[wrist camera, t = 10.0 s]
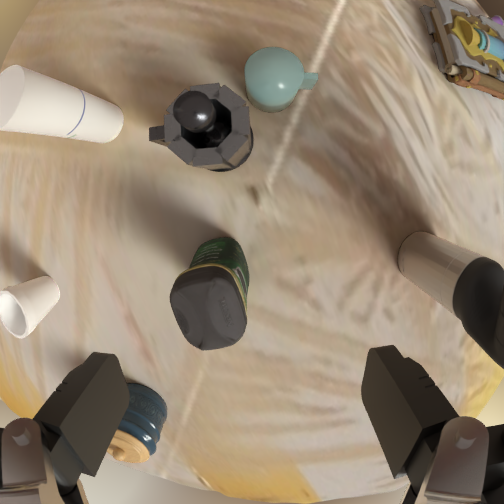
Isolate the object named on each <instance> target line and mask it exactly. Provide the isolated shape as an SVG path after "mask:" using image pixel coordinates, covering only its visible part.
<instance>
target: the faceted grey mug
mask: <svg viewBox="0 0 504 504" xmlns="http://www.w3.org/2000/svg"><path fill="white" fill-rule="evenodd" d="M190 91H200V92H202V93H204V94H205V95H207V96H208V98H209V99H210V101H211V103H212V104H213V106H214V108H215V110H216V120H215V122H221V123H224V124H226V125H227V126H228V127H229V128H230V130H231V133H230V134H229V135H228V136H227V137H226V138H225V140H224V141H223V142H222V143H221V144H220V145H219V146H218V147H214V148H208V147H207V146H206V145H205V143H204V141H203V132H200V133H195V132H192V131H189V130H188V129H187V128H185V127H184V126H182V125H181V124H179V123H178V122H177V121H176V119H175V118H174V115H173V106H174V103H175V101H176V100H177V99H178V97H179V96H181V95H182V94H184V93H186V92H188V90H186V89H185V90H184V91H183V92H182V93H181V94H180V95H179V96H178V97H177V98H176V99H175V101H174V102H173V103H172V104H171V105H170V106H169V107H168V108H167V110H166V111H168V112H169V113H170V114H167V115H164V125H163V126H157V127H151V128H149V141H151V142H155V143H158V144H161V145H164V146H167V147H168V148H169V149H170V150H171V151H172V152H174V153H175V154H176V155H177V156H178V157H179V158H181V159H182V160H183V161H184V162H185V163H186V164H188V165H192V166H194V167H199V168H205V169H208V170H211V171H217V172H225V171H230V170H233V169H235V168H237V167H239V166H240V165H242V164H243V163H244V162H245V161H246V160H247V158H248V157H249V155H250V153H251V151H252V148H253V132H252V129H251V127H250V119H249V107H248V106H246V101H245V100H243V99H242V98H241V97H240V96H238V95H237V94H236V93H234V92H233V91H232V90H231V89H229V88H228V87H227V86H225V85H223V86H222V87H220V84H219V83H215V84H206V85H197V86H190Z"/></svg>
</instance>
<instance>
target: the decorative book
mask: <svg viewBox="0 0 504 504" xmlns="http://www.w3.org/2000/svg"><path fill="white" fill-rule="evenodd" d="M433 1H434V3H435V5H436V7H435V8H433V7H428V6H426V5H423V6H421V7H420V10H421V12H422V14H423V16H424V18H425V20H426V22H427V27H428V31H429V34H433V36H434V39H435V43H433V44H432V45H433V48H434V51H435V54H436V56H437V61H438V67H439V70H440V71H441V72H442V73H447V79H448V81H449V82H451V83H455V84H457V85H459V86H462V87H466V88H474V89H478V90H481V91H483V92H486V93H489V94H491V95H492V96H493V97H497V98H499V99H502V100H504V21H503V19H502V18H501V17H500V16H498V15H495V16H494V17H493V18H489V17H488V18H486V17H484V16H482V15H479V16H478V17H475V16H473V15H471V14H470V12H469V11H468V10H467V9H466V8H465V7H464V6H461V5H459V4H457V3H454V2H452V1H450V0H433Z"/></svg>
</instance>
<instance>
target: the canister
mask: <svg viewBox="0 0 504 504" xmlns="http://www.w3.org/2000/svg"><path fill="white" fill-rule="evenodd" d="M127 387H128V389H129V395H130V400H129V405H128V408H127V410H126V412H125V414H124V416H123V418H122V420H121V422H120V424H119V426H118V428H117V430H116V432H115V434H114V437H113V439H112V441H111V443H110V445H109V447H108V449H107V452H108V453H109V454H111V455H112V456H113V457H114V458H115V459H116V460H119V461H121V460H122V461H125V462H130V463H141V462H145V461H147V460H148V459H149V456H151V455H153V454H154V453H155V451H156V443H157V442H158V441H159V439H160V433H161V430H162V427H163V424H164V423H165V421H166V418H167V406H166V404H165V402H164V400H163V399H162V398H161V397H160V396H159V395H158V394H157V393H156V392H154V391H153V390H151V389H149V388H147V387H145V386H143V385H139V384H134V383H128V384H127Z"/></svg>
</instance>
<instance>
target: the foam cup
mask: <svg viewBox="0 0 504 504" xmlns="http://www.w3.org/2000/svg"><path fill="white" fill-rule="evenodd" d="M59 298H60V291H59V288H58V285H57V283H56V282H55V281H54V280H53V279H52V278H51V277H49V276H42V277H38V278H35V279H32V280H29V281H26V282H23V283H20V284H18V285H15V286H9V287H7V288H5V289H3V290H2V291H1V292H0V318H1V321H2V323H3V324H4V326H5V327H6V328H7V330H8V331H9V332H10V333H11V334H13V335H14V336H15V337H17V338H22V339H23V338H25V337H26V336H27V335H29V334H30V333H31V332H32V331H33V330H34V329H35V327H36V326H37V325H38V323H39V322H40V321H41V320H42V319H43V318H44V317H45V315H46V314H47V313H48V312H49V311H50V310H51V309H52V308H53V306H54V305H55V304H56V303H57V302H58V301H59Z"/></svg>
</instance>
